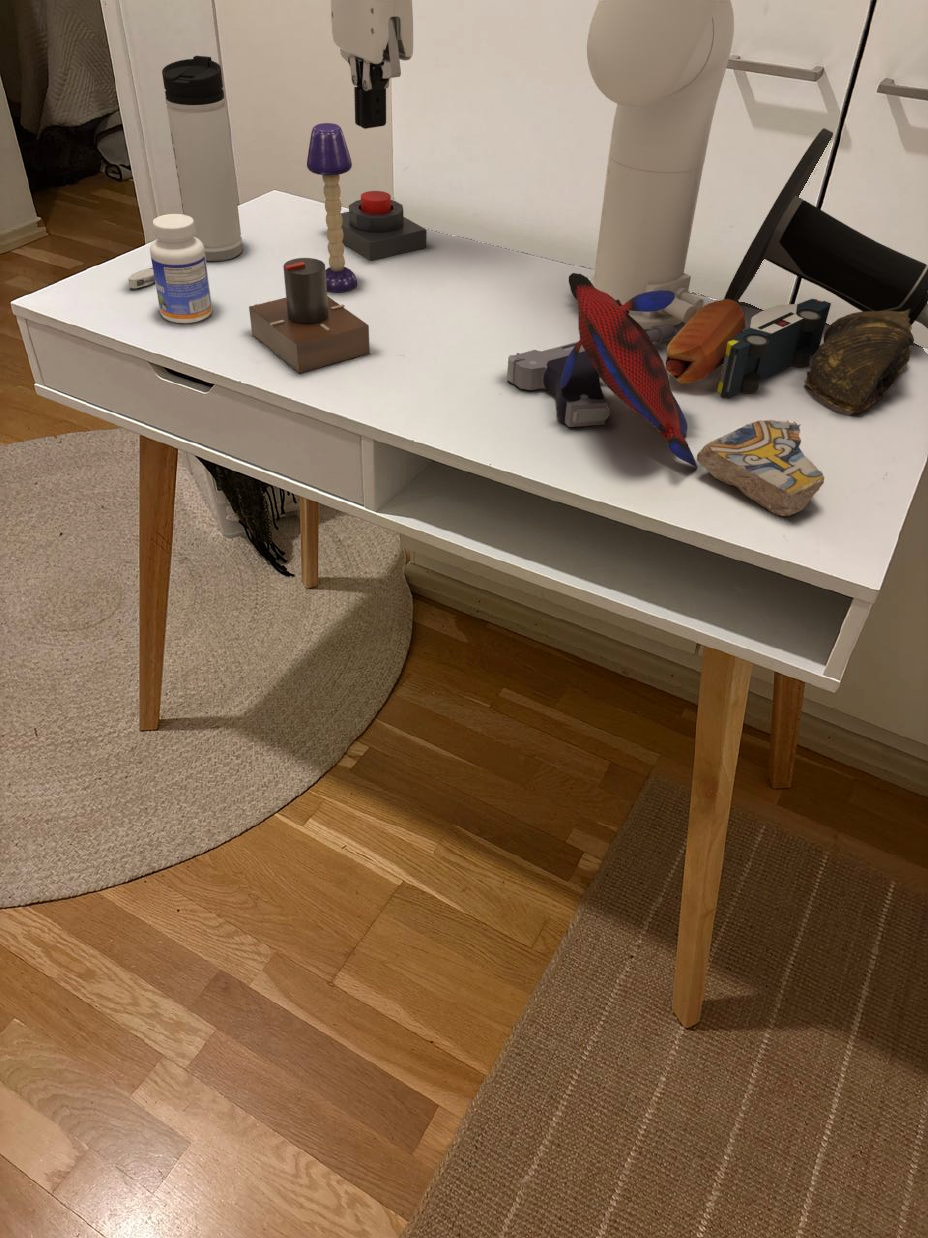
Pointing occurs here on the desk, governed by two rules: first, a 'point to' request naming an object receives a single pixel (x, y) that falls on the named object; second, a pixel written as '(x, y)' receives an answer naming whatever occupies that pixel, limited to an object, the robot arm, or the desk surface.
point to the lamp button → (375, 202)
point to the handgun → (583, 390)
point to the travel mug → (203, 153)
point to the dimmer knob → (306, 290)
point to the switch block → (381, 232)
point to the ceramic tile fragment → (765, 465)
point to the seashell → (860, 358)
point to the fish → (628, 358)
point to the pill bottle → (180, 270)
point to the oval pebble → (141, 278)
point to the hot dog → (704, 341)
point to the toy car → (772, 345)
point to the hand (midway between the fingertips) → (370, 124)
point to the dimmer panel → (310, 335)
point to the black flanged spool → (832, 252)
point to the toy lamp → (332, 197)
